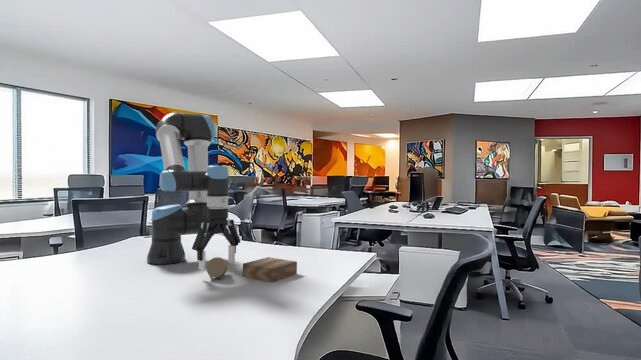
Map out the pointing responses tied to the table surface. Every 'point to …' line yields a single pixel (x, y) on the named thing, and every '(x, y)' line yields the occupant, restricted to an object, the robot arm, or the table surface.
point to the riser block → (269, 269)
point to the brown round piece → (217, 267)
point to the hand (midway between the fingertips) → (217, 266)
